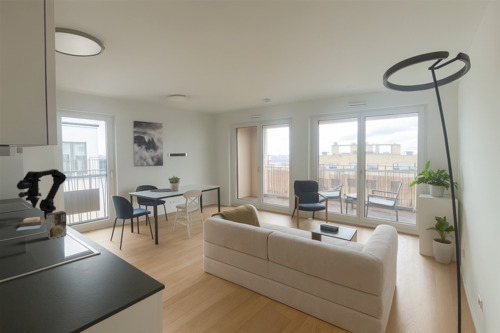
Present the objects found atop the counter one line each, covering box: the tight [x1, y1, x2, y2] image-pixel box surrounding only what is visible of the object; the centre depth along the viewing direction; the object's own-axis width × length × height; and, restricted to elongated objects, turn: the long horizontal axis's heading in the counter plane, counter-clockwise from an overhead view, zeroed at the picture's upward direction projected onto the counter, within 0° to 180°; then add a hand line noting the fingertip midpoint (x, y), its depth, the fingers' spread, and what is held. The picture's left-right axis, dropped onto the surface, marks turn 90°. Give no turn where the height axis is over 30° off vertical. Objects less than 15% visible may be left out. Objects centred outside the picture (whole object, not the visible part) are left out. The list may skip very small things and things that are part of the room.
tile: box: [22, 216, 41, 223], centre depth 177 cm, size 6×8×2 cm
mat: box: [16, 225, 42, 232], centre depth 171 cm, size 8×12×1 cm, turn 122°
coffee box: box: [45, 210, 68, 240], centre depth 156 cm, size 9×6×16 cm
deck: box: [18, 216, 46, 228], centre depth 180 cm, size 13×12×3 cm
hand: (34, 207), depth 183 cm, fingers closed
